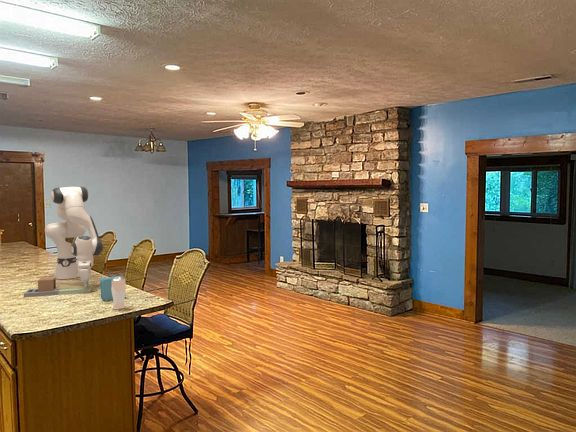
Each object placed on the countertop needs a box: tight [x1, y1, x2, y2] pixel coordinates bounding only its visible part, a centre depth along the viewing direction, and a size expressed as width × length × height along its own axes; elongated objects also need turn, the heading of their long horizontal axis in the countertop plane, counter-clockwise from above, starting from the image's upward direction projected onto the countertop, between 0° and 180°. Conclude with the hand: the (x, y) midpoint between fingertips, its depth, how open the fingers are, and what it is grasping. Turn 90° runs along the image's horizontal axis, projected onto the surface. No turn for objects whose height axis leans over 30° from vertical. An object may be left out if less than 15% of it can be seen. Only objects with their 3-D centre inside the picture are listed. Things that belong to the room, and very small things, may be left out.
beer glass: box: [111, 277, 127, 310], centre depth 230 cm, size 7×7×15 cm
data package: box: [99, 275, 124, 302], centre depth 250 cm, size 12×4×12 cm, turn 128°
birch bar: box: [56, 279, 86, 290], centre depth 270 cm, size 4×16×4 cm, turn 108°
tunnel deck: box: [23, 276, 93, 298], centre depth 268 cm, size 13×35×9 cm, turn 108°
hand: (86, 285), depth 272 cm, fingers closed on birch bar, 4 cm apart
